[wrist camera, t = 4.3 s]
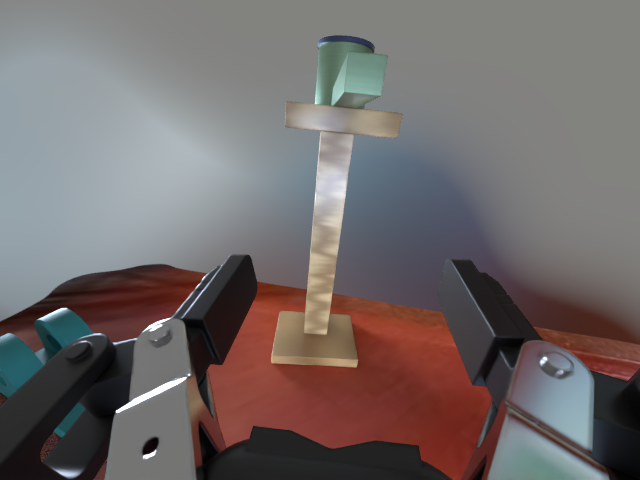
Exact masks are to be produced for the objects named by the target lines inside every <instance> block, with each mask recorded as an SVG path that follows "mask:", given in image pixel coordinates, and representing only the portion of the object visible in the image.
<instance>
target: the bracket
mask: <svg viewBox="0 0 640 480" xmlns="http://www.w3.org/2000/svg"><path fill="white" fill-rule="evenodd" d="M35 329H36V331H37V333H38V335H39V337H40V339H41V341H42V343H43V345H44V347H45V348H43V349H41V350H40V351H38V352H36V353H34V352H33V351H32V350H31V349H30V348H29V347H28V346H27V345H26V344H25V343H24V342H23V341H21V340H20V339H19V338H18V337H16V336H14V335H13V334H6V335H4V336H2V337H0V392H1V393H2V394H3V395H5V396H6V397H7V398H9V397H10V396H11V395H12V394H14V393H15V392H16V391H17V390H18V389H19V388H20V387H21V386H22V385H23V384H24V383H25V382H27V381H28V380H29V379H30V378H31V377H32V376H33V375H34V374H35V373H36V372H37V371H38V370H40V369H41V368H42V367H43V366H44V365H45V364H46V363H47V362H48V361H49V360H50V359H51V358H53V357H54V356H55V355H56V354H57V353H58V352H59V351H60V350H62V349H63V348H64V347H65V346H67V345H68V344H70V343H72V342H73V341H75V340H77V339H79V338H81V337H84V336H87V335H90V334H93V333H92V331H91V330H90V328H89V327H88V326H87V324H86V323H85V322H84V321H83V320H82V319H81V318H80V317H79V316H78V315H77V314H75V313H74V312H73V311H71V310H69V309H67V308H61V309H59V310H57V311H55V312H53V313H50V314H48V315H46V316H44V317H42V318H40V319H38V320H36V321H35ZM84 410H85V407H84V406H83V405H82V404H81V403H79V402H78V403H77V404H76V405H75V406H74V408H73V409H72V410H71V411H70V412H69V413H68V415H67V416H66V417H65V418H64V419H63V421H62V422H61V423H60V424H59V425H58V427H57V428H56V429H55V430H54V431H53V432H54V433H56V434H57V435H58V436H60V437H61V438H62V437H63V436H64V435H65V433H66V432H67V431H68V430H69V428H70V427H71V426H72V425H73V423H74V422H75V421H76V420H77V418H78V417H79V416H80V415H81V413H82V412H83V411H84Z"/></svg>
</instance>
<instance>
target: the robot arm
mask: <svg viewBox="0 0 640 480" xmlns="http://www.w3.org/2000/svg"><path fill="white" fill-rule="evenodd" d="M256 293H257V280H256V276H255V272H254V268H253V264H252V259H251V257H250V256H249V255H236V254H232V255H230V256H229V257H228V258H227V260H226V261H225V262H224V263H223V265H222V266H217V267H216V268H214V269H213V270H212V271H210V272H209V273H208V274H207V275H206V276H205V277H204V279H203V280H202V281H201V284H199V285H198V286H197V287H196V288H195V291H193V292H192V293H191V294H190V296H189V297H188V298H187V299H186V301H185V302H184V303H183V304H182V305H181V307H180V308H179V309H178V310H177V312H176V313H175V314H174V315H173V316H172V318H170V319H165V320H162V321H159V322H157V323H155V324H153V325H151V326H150V327H148V328H147V329H146V330H145V331H143V332H142V333H141V335H140V336H139V337H138V338H136V339H131V340H126V341H121V342H116V343H112V342H111V340H110V339H109V338H108V336H107V335H105V334H102V333H95V334H90V335H87V336H84V337H81V338H79V339H77V340H75V341H73V342H72V343H70V344H68V345H67V346H65V347H64V348H63V349H62V350H60V351H59V352H58V353H57V354H56V355H55V356H54V357H53V358H51V359H50V360H49V361H48V362H47V363H46V364H45V365H44V366H43V367H42V368H41V369H40V370H38V371H37V372H36V373H35V374H34V375H33V376H32V377H31V378H30V379H29V380H28V381H27V382H25V383H24V384H23V385H22V386H21V387H20V388H19V389H18V390H17V391H16V392H15V393H14V394H12V395H11V396H10V397H9V398H8V399H7V400H6V401H5V402H4V403H3V404H2V405H1V406H0V480H93V479H94V478H95V476H96V474H97V473H98V471H99V470H100V468H101V467H102V465H103V463H104V462H105V460H106V459H107V457H108V460H107V467H106V474H105V480H452V479H451V478H450V477H448V476H447V475H445V474H444V473H443V472H441V471H440V470H439V469H437V468H435V467H434V466H432V465H430V464H429V463H427V462H424V461H422V460H421V456H420V451H419V446H417V445H409V444H400V443H392V442H383V441H370V442H365V443H361V444H356V445H351V446H346V447H341V448H336V449H331V448H327V447H325V446H323V445H321V444H319V443H317V442H314V441H312V440H310V439H308V438H306V437H304V436H302V435H299V434H297V433H295V432H293V431H290V430H282V429H273V428H265V427H257V426H253V428H252V432H251V435H250V438H249V439H247V440H244V441H241V442H238V443H235V444H233V445H231V446H229V447H227V448H226V445H225V441H224V438H223V435H222V432H221V429H220V426H219V422H218V417H217V412H216V407H215V401H214V396H213V391H212V386H211V381H210V376H209V373H208V371H207V369H208V367H209V366H210V364H215V365H222V364H223V362H224V360H225V358H226V356H227V354H228V352H229V350H230V348H231V346H232V344H233V342H234V340H235V338H236V336H237V334H238V332H239V330H240V327H241V325H242V323H243V321H244V319H245V317H246V315H247V313H248V311H249V309H250V307H251V305H252V303H253V301H254V299H255V297H256ZM438 300H439V304H440V307H441V309H442V312H443V314H444V316H445V319H446V321H447V324H448V326H449V329H450V331H451V334H452V336H453V339H454V341H455V344H456V346H457V348H458V351H459V353H460V356H461V358H462V361H463V363H464V366H465V368H466V371H467V373H468V375H469V378H470V380H471V383H472V385H475V386H486V387H487V388H488V390H489V393H490V395H491V397H492V400H491V402H490V404H489V407H488V410H487V413H486V416H485V419H484V422H483V425H482V428H481V430H480V433H479V436H478V439H477V442H476V445H475V448H474V451H473V453H472V456H471V458H470V461H469V463H468V465H467V467H466V469H465V472H464V474H463V476H462V479H461V480H640V368H639V369H638V370H637V372H636V373H635V374H634V375H633V376H632V377H631V378H630V379H629V380H628V381H624V380H621V379H618V378H615V377H611V376H608V375H605V374H601V373H598V372H595V371H591V370H589V369H588V368H587V366H586V365H585V364H584V363H583V362H582V361H581V360H580V359H578V358H577V357H576V356H575V355H573V354H572V353H570V352H569V351H567V350H565V349H563V348H561V347H559V346H557V345H555V344H552V343H549V342H545V341H543V340H542V338H541V337H540V336H539V335H538V333H537V332H536V331H535V329H534V328H533V327H532V325H531V324H530V323H529V322H528V320H527V319H526V318H525V316H524V315H523V314H522V312H521V311H520V310H519V308H518V307H517V306H516V305H515V304H513V301H512V299H511V298H510V297H509V295H506V292H505V290H504V289H503V288H502V286H501V285H500V284H499V282H497V281H496V280H495V279H493V278H492V277H490V276H489V275H488V274H486V273H480V272H479V271H478V270H477V268H476V267H475V266H474V264H473V262H472V261H471V260H470V259H447V260H446V262H445V265H444V269H443V272H442V276H441V280H440V284H439V289H438ZM78 402H79V403H81V404H82V405H83V406H84V407H85V410H84V411H83V412H82V413H81V415H80V416H79V417H78V418H77V420H76V421H75V422H74V423H73V425H72V426H71V427H70V428H69V430H68V431H67V432H66V433H65V435H64V436H63V437H62V438H61V440H60V441H59V442H58V443H57V445H56V446H55V447H54V448H53V450H52V451H51V452H50V453H49V455H48V456H47V457H46V458H45V460H44V461H43V462H41V460H40V452H41V449H42V447H43V445H44V443H45V441H46V440H47V439H48V437H49V436H50V435H51V434H52V432H53V431H54V430H55V429H56V428H57V427H58V425H59V424H60V423H61V422H62V421H63V419H64V418H65V417H66V416H67V415H68V413H69V412H70V411H71V410H72V409H73V408H74V406H75V405H76V404H77V403H78Z"/></svg>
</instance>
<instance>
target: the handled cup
mask: <svg viewBox="0 0 640 480" xmlns="http://www.w3.org/2000/svg"><path fill="white" fill-rule="evenodd" d="M374 48H375V47H374V45H373V44H372V43H371V42H369V41H367V40H365V39H361V38H358V37H352V36H328V37H324V38H322V39H320V40H319V41H318V49H319V57H318V70H317V85H316V98H315V104H318V105H328V106H337V107H347V108H356V109H364V106H365V104H366V103H368V102H370V101H372V100H374V99H376V98H378V97H380V96H381V94H382V88H383V82H384V76H385V70H386V64H387V58H388V56H387V55H382V54H374Z"/></svg>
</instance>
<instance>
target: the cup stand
mask: <svg viewBox="0 0 640 480" xmlns="http://www.w3.org/2000/svg"><path fill="white" fill-rule="evenodd" d="M285 112H286V113H285V127H287V128H297V129H307V130H317V131H320V144H319V156H318V167H317V179H316V191H315V203H314V215H313V227H312V239H311V250H310V263H309V275H308V286H307V298H306V310H305V312H290V311H280V315H279V320H278V325H277V330H276V335H275V340H274V345H273V350H272V355H271V363H281V364H301V365H321V366H341V367H357V363H358V357H357V351H356V346H355V340H354V335H353V329H352V324H351V318H350V315H339V314H329V313H330V306H331V298H332V291H333V283H334V276H335V269H336V262H337V261H336V260H337V254H338V246H339V240H340V232H341V225H342V218H343V211H344V202H345V196H346V188H347V181H348V174H349V167H350V159H351V152H352V144H353V137H354V134H357V135H367V136H377V137H388V138H398V134H399V129H400V124H401V120H402V113H394V112H385V111H375V110H365V109H356V108H347V107H337V106H328V105H318V104H308V103H299V102H289V101H286V110H285Z"/></svg>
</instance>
